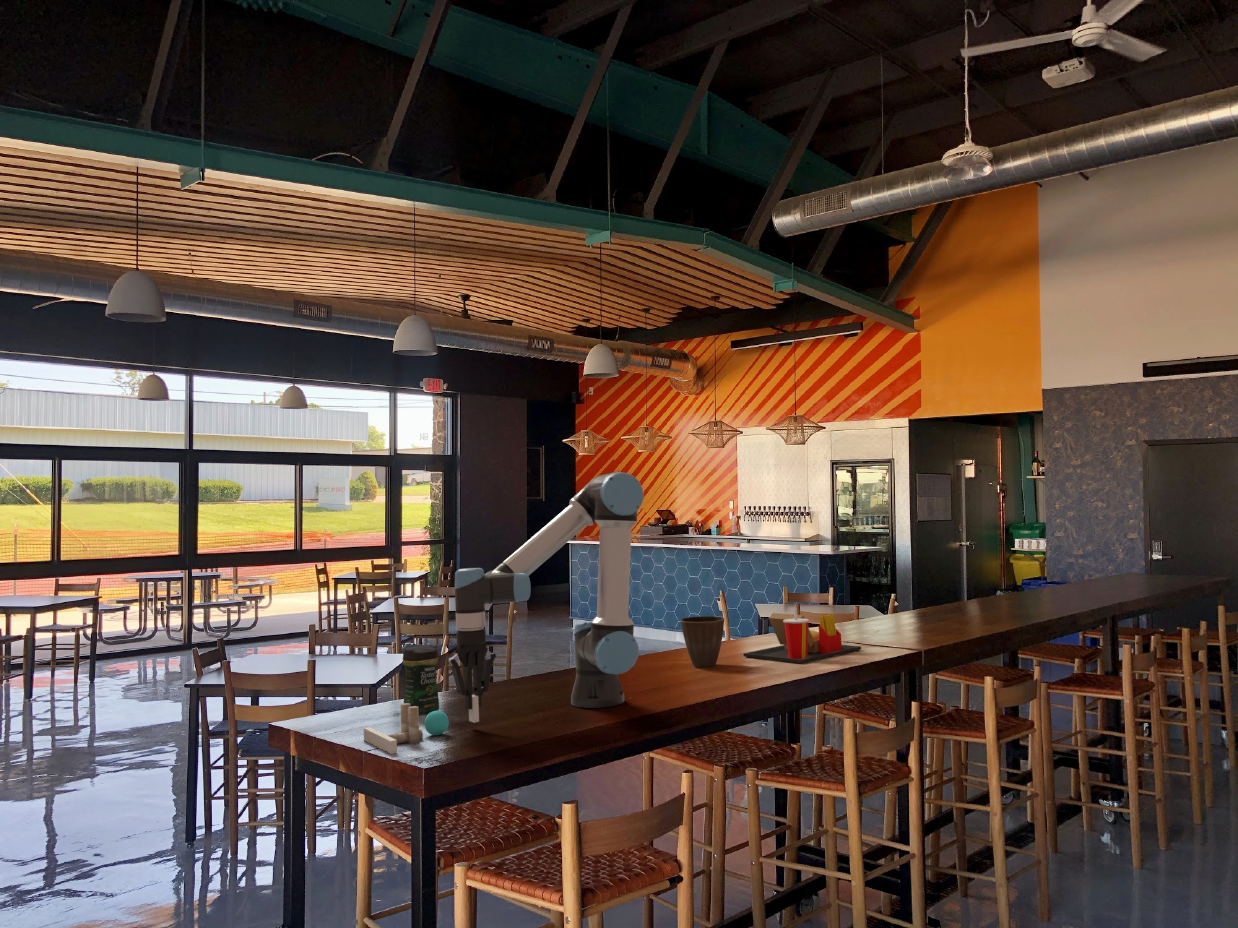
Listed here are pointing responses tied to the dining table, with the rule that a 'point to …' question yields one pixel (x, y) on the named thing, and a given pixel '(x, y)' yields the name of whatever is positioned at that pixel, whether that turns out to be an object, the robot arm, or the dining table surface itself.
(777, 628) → the fast food meal
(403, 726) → the pin
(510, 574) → the robot arm
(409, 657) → the coffee jar
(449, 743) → the dining table surface
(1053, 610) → the dining table surface
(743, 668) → the dining table surface
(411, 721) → the pin
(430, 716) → the ball
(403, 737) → the front pin
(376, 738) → the back wall
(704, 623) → the plant pot
